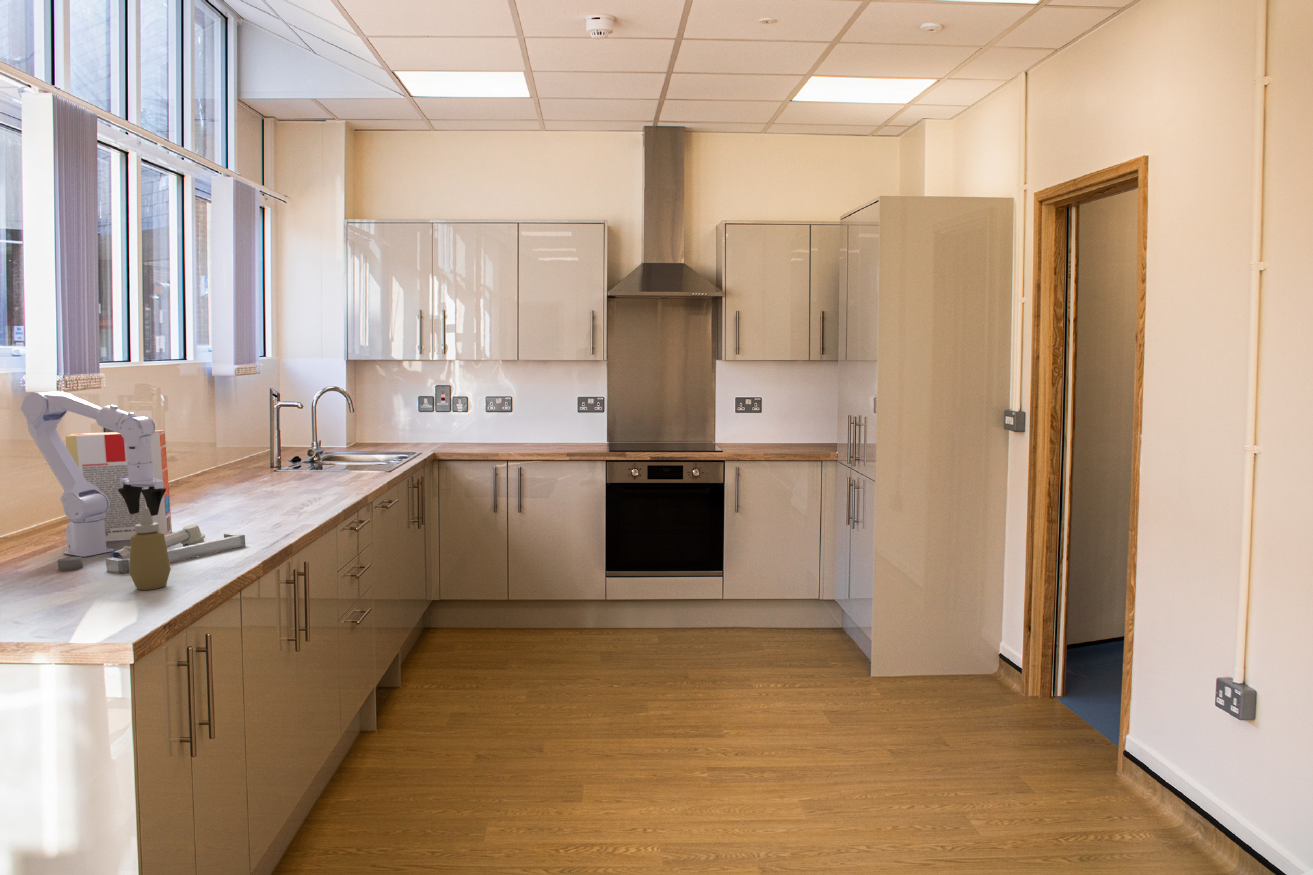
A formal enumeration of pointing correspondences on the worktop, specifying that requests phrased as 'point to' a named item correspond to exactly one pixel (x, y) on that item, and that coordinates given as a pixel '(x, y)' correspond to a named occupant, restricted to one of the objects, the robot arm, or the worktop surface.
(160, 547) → the squeeze bottle
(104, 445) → the pasta box
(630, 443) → the worktop surface
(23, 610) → the worktop surface
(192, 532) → the white handheld wand
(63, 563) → the smooth gray pebble
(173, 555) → the curved pull handle
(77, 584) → the worktop surface
